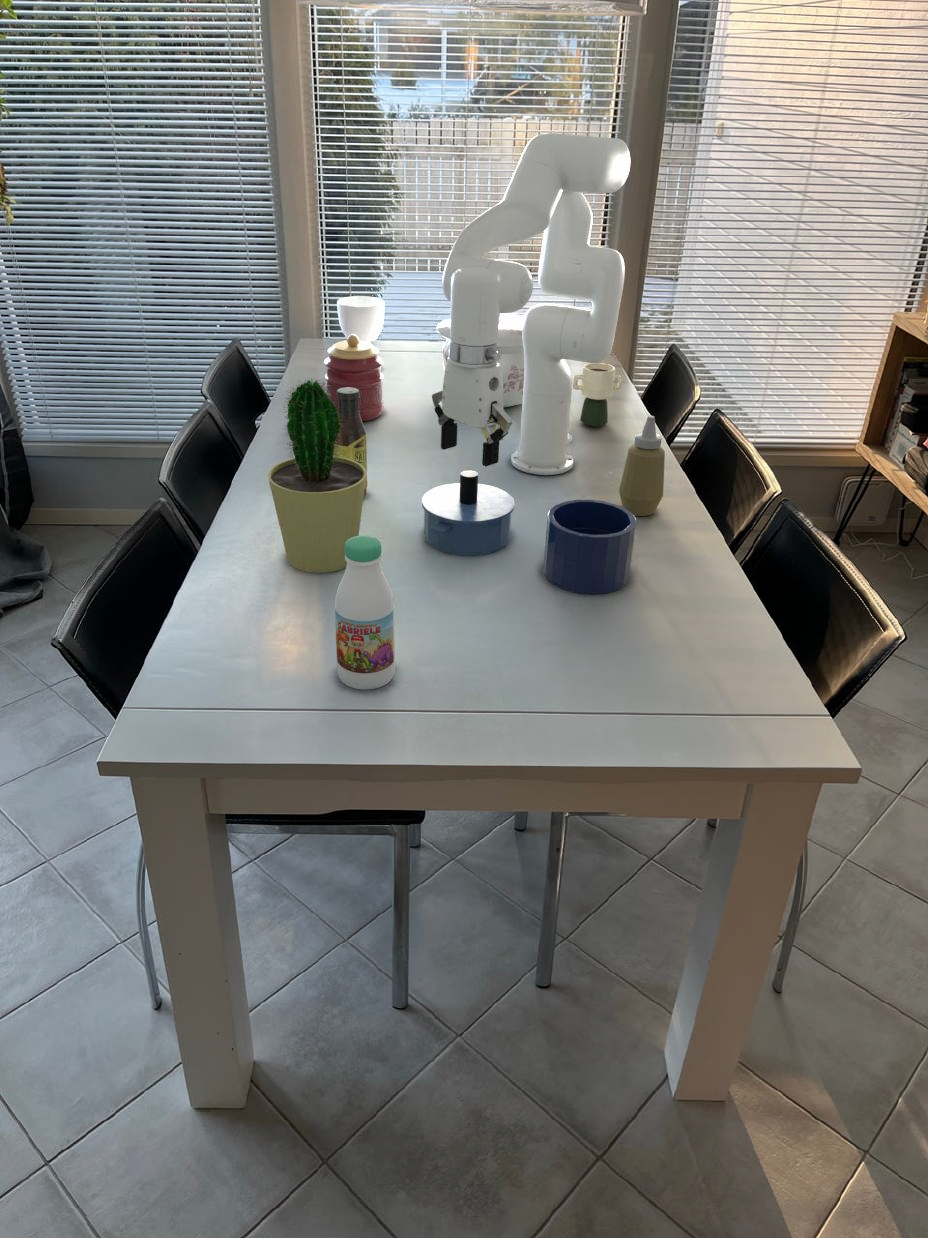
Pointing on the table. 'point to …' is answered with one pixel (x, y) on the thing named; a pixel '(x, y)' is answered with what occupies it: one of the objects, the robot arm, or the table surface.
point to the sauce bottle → (351, 428)
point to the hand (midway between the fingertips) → (469, 455)
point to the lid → (468, 501)
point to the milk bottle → (364, 618)
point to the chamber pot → (501, 355)
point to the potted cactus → (316, 485)
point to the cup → (361, 316)
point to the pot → (589, 546)
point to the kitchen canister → (356, 374)
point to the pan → (466, 536)
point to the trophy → (596, 391)
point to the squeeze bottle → (643, 472)
